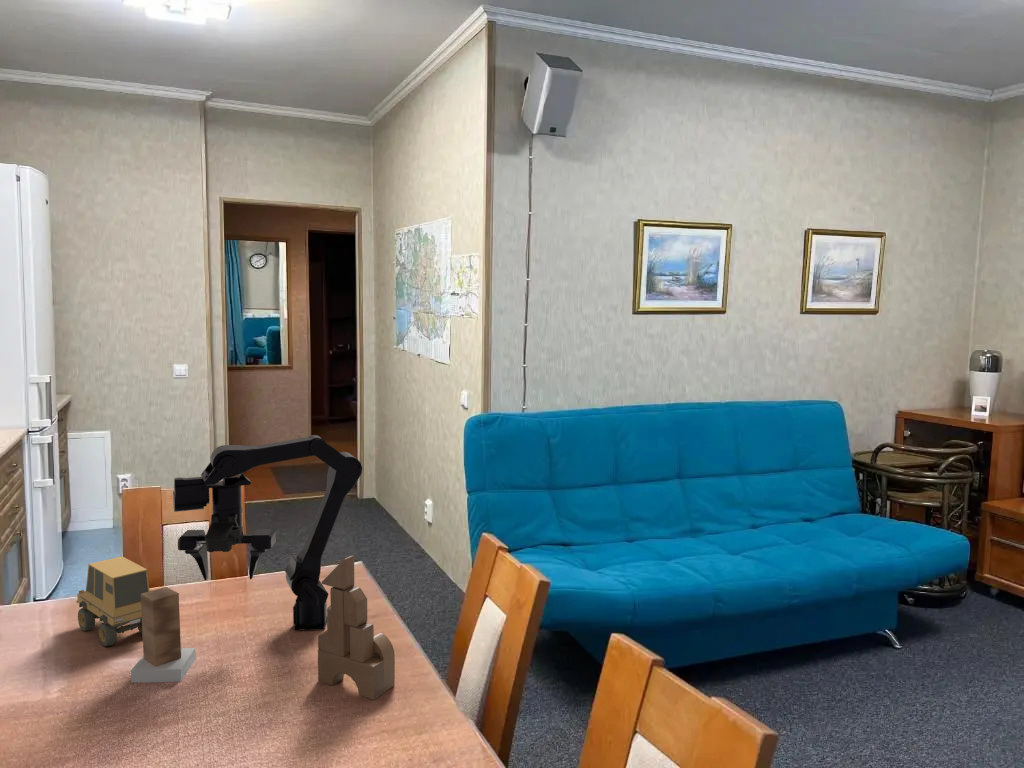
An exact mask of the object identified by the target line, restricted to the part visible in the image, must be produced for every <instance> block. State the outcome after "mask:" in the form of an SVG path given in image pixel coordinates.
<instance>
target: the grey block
mask: <svg viewBox="0 0 1024 768" xmlns="http://www.w3.org/2000/svg"><path fill="white" fill-rule="evenodd" d="M196 654H197V653H196V647H188V648H187V647H181V658H179V659H176V660H174V661H171V662H168V663H165V664H162V665H159V666H157V667H155V666H154V665H152V664H151V663H149V662H148V661H146V660H145V659H144V655H142V656H141V658H139V660H138V661H137V662H136V664H135V665H134V666H133V667H132V669H131V670H130V678H131V679H130V681H131V684H134V683H133V682H135V684H137V683H136V682H138V684H139V683H140V682H144V683H170V682H171V683H172V682H173V683H174V682H182V681H183V679H184V678H185V676H186V675H187V673H188V672H189V671H190V669H191V668H192V666H193V664H194V663H195V661H196V660H197V658H196Z"/></svg>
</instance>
